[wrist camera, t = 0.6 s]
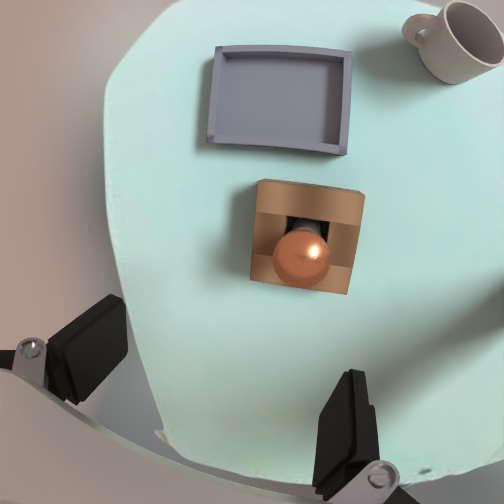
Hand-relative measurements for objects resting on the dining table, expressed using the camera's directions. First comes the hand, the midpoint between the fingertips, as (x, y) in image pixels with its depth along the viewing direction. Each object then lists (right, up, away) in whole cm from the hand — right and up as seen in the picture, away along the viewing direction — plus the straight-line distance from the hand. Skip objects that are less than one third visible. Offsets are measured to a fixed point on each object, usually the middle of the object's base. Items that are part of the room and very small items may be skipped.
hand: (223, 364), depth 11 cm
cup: (+21, +27, +10) cm, 36 cm away
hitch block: (+7, +7, +20) cm, 22 cm away
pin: (+7, +7, +20) cm, 22 cm away
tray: (+4, +20, +16) cm, 26 cm away
